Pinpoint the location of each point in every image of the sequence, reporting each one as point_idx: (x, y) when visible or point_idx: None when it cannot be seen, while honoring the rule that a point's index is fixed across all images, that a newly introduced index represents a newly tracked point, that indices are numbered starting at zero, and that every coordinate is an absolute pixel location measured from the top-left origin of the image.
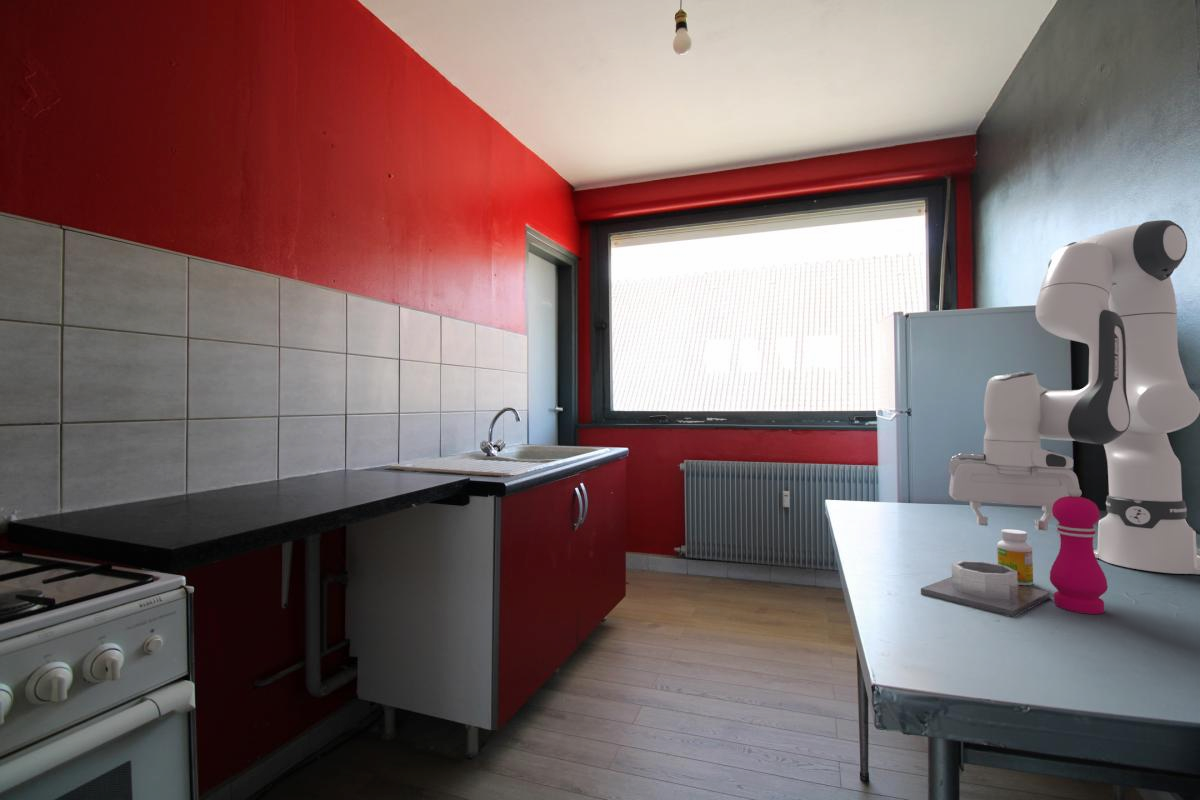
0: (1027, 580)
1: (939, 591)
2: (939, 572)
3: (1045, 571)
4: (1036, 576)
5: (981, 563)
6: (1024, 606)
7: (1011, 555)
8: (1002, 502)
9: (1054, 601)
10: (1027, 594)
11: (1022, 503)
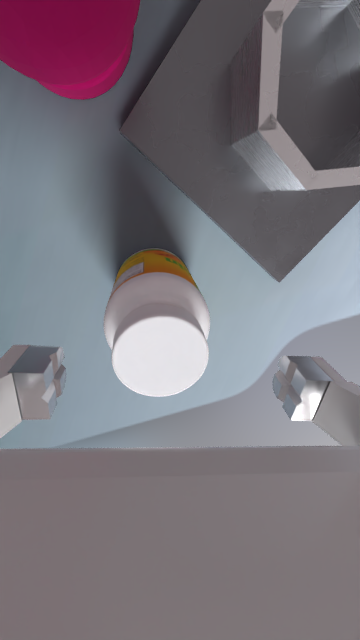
0: (137, 253)
1: None
2: (295, 319)
3: None
4: (86, 349)
5: (316, 171)
6: None
7: (183, 273)
8: (302, 449)
9: (132, 40)
10: (200, 72)
11: (134, 454)
